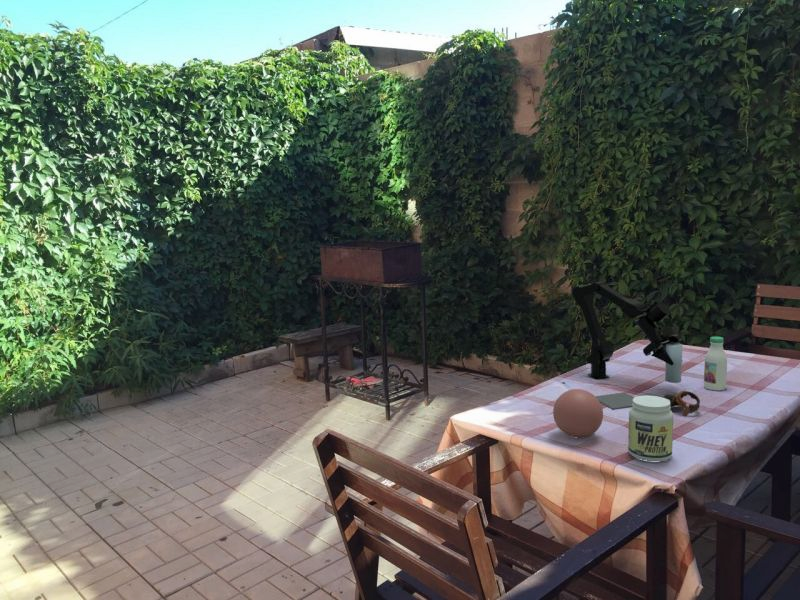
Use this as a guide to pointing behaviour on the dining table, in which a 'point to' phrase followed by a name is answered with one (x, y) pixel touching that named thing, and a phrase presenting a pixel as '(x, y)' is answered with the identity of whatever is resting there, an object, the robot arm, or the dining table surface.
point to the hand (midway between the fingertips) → (677, 363)
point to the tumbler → (674, 370)
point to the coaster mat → (616, 400)
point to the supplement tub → (650, 428)
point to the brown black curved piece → (678, 401)
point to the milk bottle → (715, 365)
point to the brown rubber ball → (578, 413)
